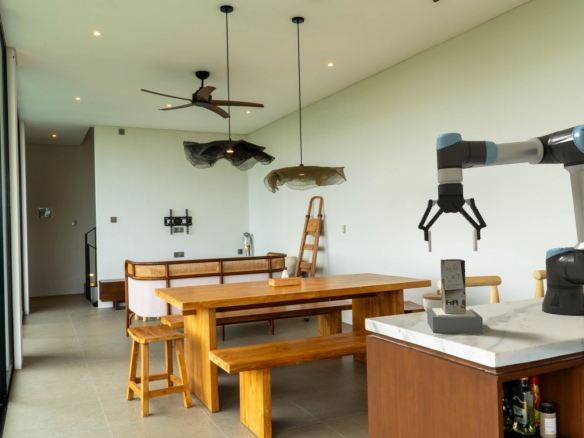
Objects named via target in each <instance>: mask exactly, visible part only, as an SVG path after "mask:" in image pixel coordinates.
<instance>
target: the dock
mask: <svg viewBox="0 0 584 438" xmlns="http://www.w3.org/2000/svg"><path fill="white" fill-rule="evenodd" d="M426 316H427V317H426V318H427V320H426V322H427V325H428V326H429V328H430V330H431V331H432V333H433V334H436V333H437V334H479V335H480V334H482V335H483V334H484V326H483V325H484V322H483V321H484V320H483V317H482V315H480V314H479V313H477V312H476V311H475V310H474V309H472V308H469V307H466V314H449V313H445V312H444V311H443V310H442V308H432V309H427V313H426Z"/></svg>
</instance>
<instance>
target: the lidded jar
mask: <svg viewBox="0 0 584 438" xmlns="http://www.w3.org/2000/svg"><path fill="white" fill-rule="evenodd" d="M422 305H423V306H422V307H423V308H424V311H425V313H426V314H427V309H432V308H442V297H441V289H436V292H426V293H423V294H422Z"/></svg>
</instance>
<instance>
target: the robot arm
mask: <svg viewBox="0 0 584 438" xmlns="http://www.w3.org/2000/svg"><path fill="white" fill-rule="evenodd" d="M435 144H436V145H435V147H436V148H435V151H436V167H437V169H436V170H437V171H436V172H437V174H436V175H437V183H438V185H437V199H428V200H427V207H426V208H425V211H424V213H423V215H422V217H421V220H420V221H419V224H418V226H417V228H418V230H421V231H423V240H424V241H425V242H427V252H428V253H432V230H430V228H431V227H432V226H433V225H434V224H435V222H436V221H437V220H438V219H439V218H440V216H441V215H442V214H443V213H445V214H450V213H451V214H457V213H459V214H460V215H462V217H464V218H465V220H466V221H467V222H468V223H469V225H471V226H472V227H473V228H474V229H472V251H473V252H478V241H481V239H482V238H481V230H482V229H484V228H486V227H487V226H488V225H487V223H486V222H485V219H484V218H483V216H482V214H481V213H480V211H479V209H478V207H477V206H476V202H475V201H476V200H475V198H474V197H471V198H467V199H466V198H465V197H464V184H463V183H462V182H463V181H464V180H463V179H464V176H463V175H464V174H463V173H464V172H463V170H465V169H473V168H483V167H495V166H504V165H505V166H506V165H513V164H515V165H516V164H526V163H527V164H530V165H532V166H533V165H563V169H564V170H566V171H567V172H568V173H569V179H570V187H571V196H572V204H573V213H574V214H573V215H574V220H575V229H576V230H575V231H576V238H577V243H576V244H575V245H574V246H568V247H567V246H565V247H557V248H550V249H548V250H546V252H545V275H546V277H545V278H546V291H545V294H544V298H543V300H542V304H541V311H542V312H545V313H549V314H555V315H565V316H567V315H568V316H569V315H570V316H580V315H582V316H583V315H584V124H578V125H576V126H572V127H568V128H565V129H562V130H557V131H554V132H552V133H548V134H544V135H541V136H537V137H530V138H528V139H527V140H526V141H516V142H503V143H495V142H493V141H490V140H463V138H462V135H461V133H460V132H459V133H458V132H446V133H441V134H439V135H437V138H436V143H435ZM465 204H466V205H467V206H469V207H470V209H471V211H472V213H473V214H474V216H475V218H476V220H477V221H475V219H474V218H473V217H472V216H471V215H470V214H469V213H468V212H467V211H466V209H465V208H464V207H463V206H465ZM435 205H437V206H438V207H439V209H438V210H437V211H436V213H435V214H434V215H433V216H432V217H431V219H430V220H429V221H428V223H427V224H426V225H425V223H426V221H427V219H428V216H429V215H430V212H431V211H432V208H433V207H435Z"/></svg>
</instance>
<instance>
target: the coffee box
mask: <svg viewBox="0 0 584 438" xmlns="http://www.w3.org/2000/svg"><path fill="white" fill-rule="evenodd" d="M439 261H440V286H441V287H440V293H441V297H442V310H443V311H444V312H445V313H449V314H466V308H467V303H466V302H467V301H466V300H467V298H466V297H467V295H466V260H464V259H461V258H450V259H449V258H447V259H440V260H439Z"/></svg>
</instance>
